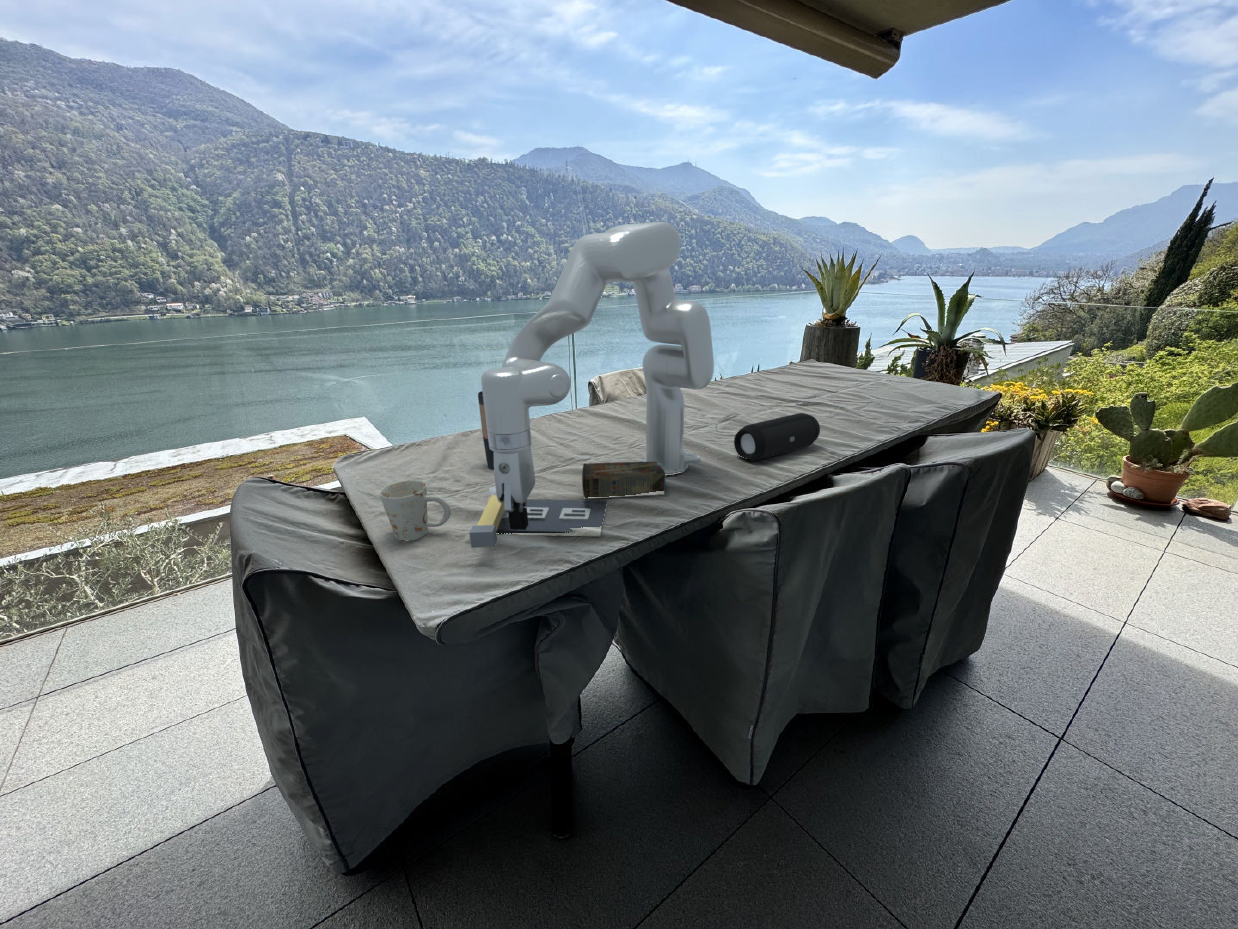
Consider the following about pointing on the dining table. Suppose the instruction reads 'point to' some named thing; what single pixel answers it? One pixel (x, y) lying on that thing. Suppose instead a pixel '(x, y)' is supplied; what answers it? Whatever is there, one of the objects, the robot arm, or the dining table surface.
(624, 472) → the beverage carton
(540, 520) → the chassis
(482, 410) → the travel mug
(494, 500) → the swing arm
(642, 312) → the robot arm
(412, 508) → the mug
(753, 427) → the portable speaker
